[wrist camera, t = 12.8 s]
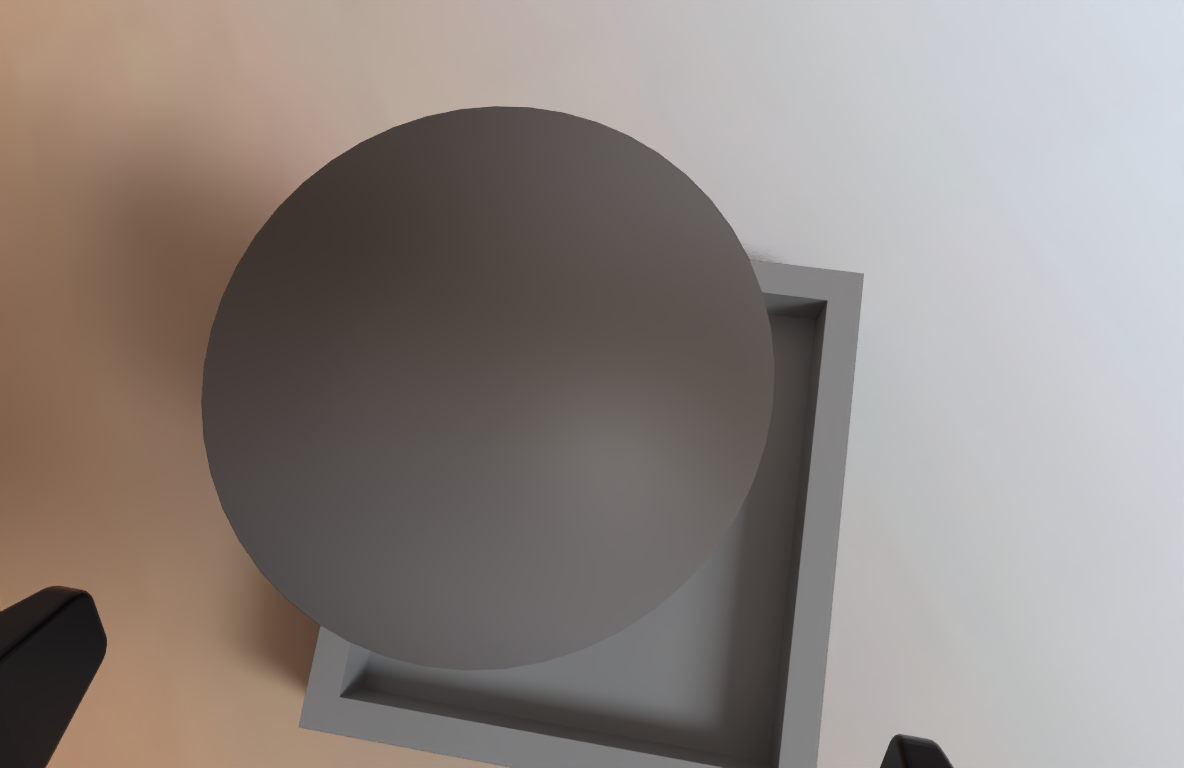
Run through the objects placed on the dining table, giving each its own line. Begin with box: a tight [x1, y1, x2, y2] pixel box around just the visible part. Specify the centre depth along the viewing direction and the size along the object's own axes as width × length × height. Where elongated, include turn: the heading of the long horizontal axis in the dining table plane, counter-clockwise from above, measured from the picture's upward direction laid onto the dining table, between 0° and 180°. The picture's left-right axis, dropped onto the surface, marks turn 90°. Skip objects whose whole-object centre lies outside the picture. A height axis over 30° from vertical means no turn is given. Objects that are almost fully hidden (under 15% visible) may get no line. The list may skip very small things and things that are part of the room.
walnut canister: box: [202, 106, 775, 671], centre depth 15 cm, size 6×6×14 cm
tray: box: [298, 260, 864, 768], centre depth 22 cm, size 13×12×2 cm
